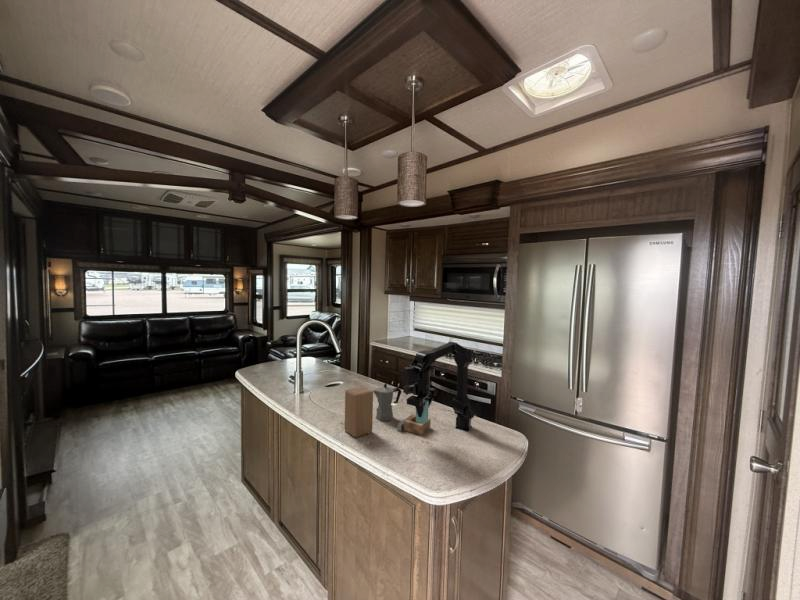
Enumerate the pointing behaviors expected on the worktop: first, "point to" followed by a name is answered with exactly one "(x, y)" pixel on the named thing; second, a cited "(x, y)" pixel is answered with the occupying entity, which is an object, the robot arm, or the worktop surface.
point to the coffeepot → (385, 402)
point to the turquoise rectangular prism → (423, 414)
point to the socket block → (416, 425)
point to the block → (358, 411)
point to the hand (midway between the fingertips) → (422, 415)
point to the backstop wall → (401, 425)
